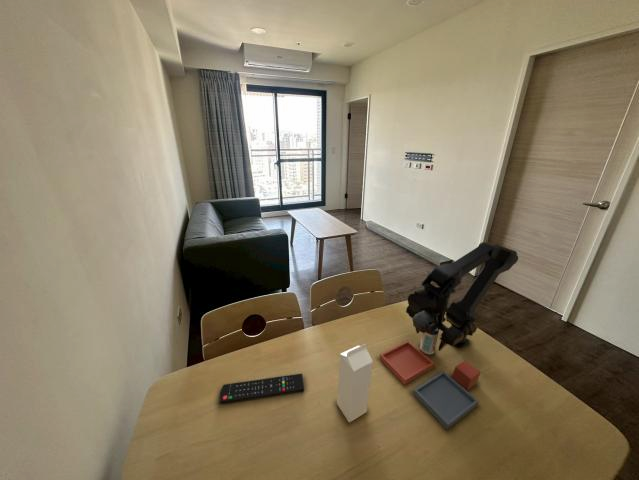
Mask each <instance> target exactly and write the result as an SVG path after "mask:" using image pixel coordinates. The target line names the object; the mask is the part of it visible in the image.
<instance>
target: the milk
mask: <svg viewBox="0 0 639 480" xmlns="http://www.w3.org/2000/svg"><path fill="white" fill-rule="evenodd" d="M338 363H339V364H338V379H337V393H336V394H337V395H336V405H337V406H338V408H339V409H340V412H341V413H342V414H343V416H344V417H345V419H346V421H347V422H348V423H351V422H353V421H354V420H356V419H358V418H360V417H361V416H363V415H364V414H366V413H367V411H368V404H369V395H370V388H371V380H372V373H373V364H374V361H373V359H372V356H371V355H370V353H369V350H368V349H367V343H364V344H362V345H356V346H354V347H352V348H349V349H347V350H345V351H342V352H341V353H339V362H338Z"/></svg>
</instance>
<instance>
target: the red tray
mask: <svg viewBox="0 0 639 480" xmlns="http://www.w3.org/2000/svg"><path fill="white" fill-rule="evenodd" d="M379 360H380V361H381V362H382V363H383V364H384V365H385V366H386V367H387V369H389V371H390V372H391V373H392V374H393V375H394V376H395V377H396V378H397V379H398V380H399V381H400V382H401V384H403V385H404V386H405V385H407V384H409V383H410V382H412V381H414V380H415V379H417V378H418V377H420V376H422V375H424V374H425V373H427V372H429V371H430V370H432V369H434V366H435V363H434V362H433V361H432V360H431V359H430V358H429V357H428V356H426V354H425V353H424V352H422V351H421V350H419V349H418V348H417V347H416V346H415V345H413V343H412V342H410V341H409V340H407V341H404V342H402V343H400V344H399V345H396V346H395V347H393V348H391V349H388V350H386V351H385V352H382V353H381V354H380V355H379Z"/></svg>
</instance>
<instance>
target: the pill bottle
mask: <svg viewBox="0 0 639 480" xmlns="http://www.w3.org/2000/svg"><path fill="white" fill-rule="evenodd" d="M439 333H440V329H438V328H437V329H436V330H435V331H434V332H432V333H429V332H425V333H422V335H421V340H420V346H419V349H420V352H422V353H423V354H425V355H433V354H435V351H436V345H437V341H438V336H439Z"/></svg>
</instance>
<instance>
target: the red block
mask: <svg viewBox="0 0 639 480" xmlns="http://www.w3.org/2000/svg"><path fill="white" fill-rule="evenodd" d="M481 373H482V372H481V371H480V370H479V369H477V368H476V367H475V366H473V365H472V364H471V363H470V362H468V361H467V360H463V361H461V362H460V363H459V364H457V365H455V366H454V370H453V373H452V376H451V378H452V379H453V380H454V381H456V382H457V383H458V384H459V385H460V386H461V387H463V388H464V389H465V390H466V391H469V390H470V389H472V388H473V387H474V386H476V385H477V384H478V381H479V378H480V375H481Z"/></svg>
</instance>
